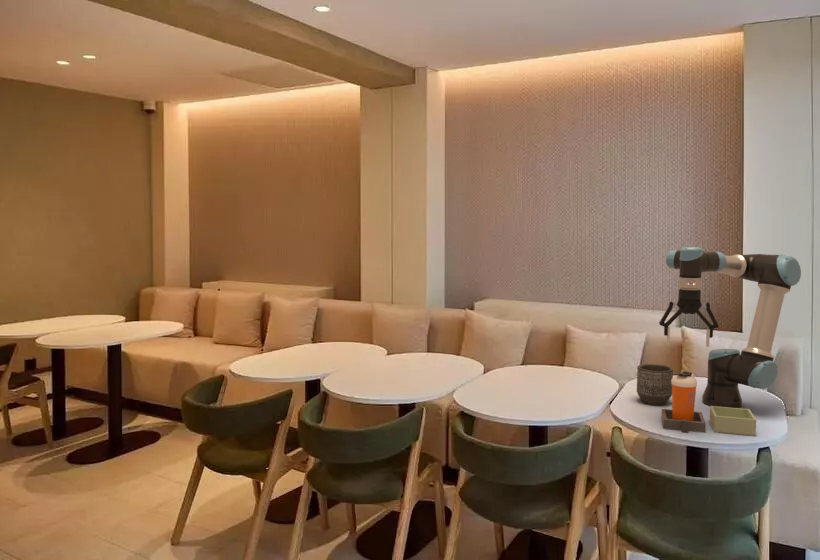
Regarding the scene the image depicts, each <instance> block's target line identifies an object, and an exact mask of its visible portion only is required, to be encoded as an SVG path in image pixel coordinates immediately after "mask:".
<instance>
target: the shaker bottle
mask: <svg viewBox="0 0 820 560" xmlns="http://www.w3.org/2000/svg"><path fill="white" fill-rule="evenodd" d="M675 374H676V375H673V378H672V380H671V384H672V396H671V403H672V405H671V406H672V407H671V410H672V419H673V420H682V419H688V421H693V416H694V411H695V403H696V393H697V391H696V390H697V386H698V381H697V379H696V378H695V374H694V373H693V372H689V371H684V370H683V371H682V372H677V373H675Z"/></svg>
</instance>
